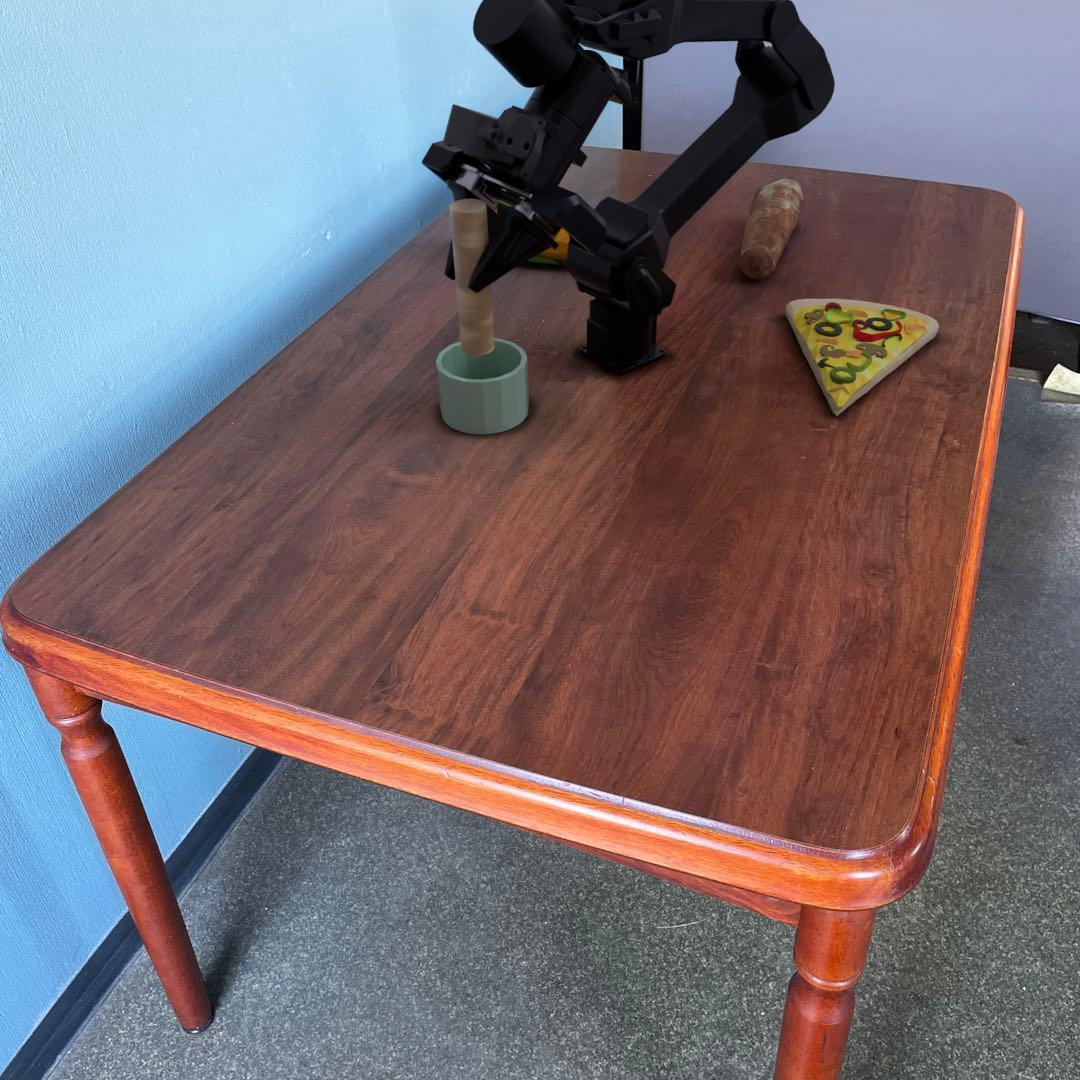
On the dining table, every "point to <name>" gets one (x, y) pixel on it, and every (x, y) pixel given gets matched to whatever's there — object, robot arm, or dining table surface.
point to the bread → (770, 226)
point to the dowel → (467, 253)
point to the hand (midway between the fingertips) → (460, 283)
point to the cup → (483, 388)
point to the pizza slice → (855, 343)
